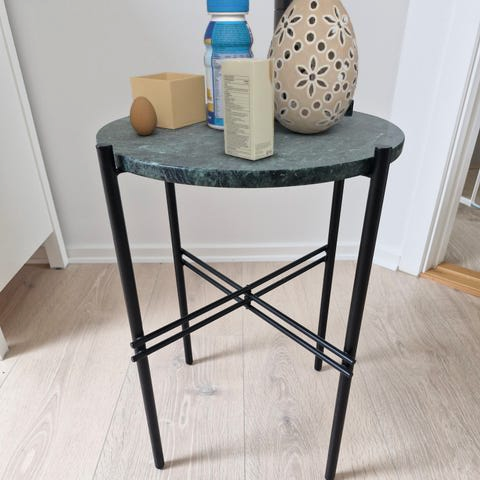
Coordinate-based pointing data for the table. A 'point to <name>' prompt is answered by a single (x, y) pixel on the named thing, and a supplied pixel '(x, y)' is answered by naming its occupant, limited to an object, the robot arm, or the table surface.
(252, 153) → the cosmetic box
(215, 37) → the beverage bottle
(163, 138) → the table surface
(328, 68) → the ornament
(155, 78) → the open box
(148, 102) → the egg
